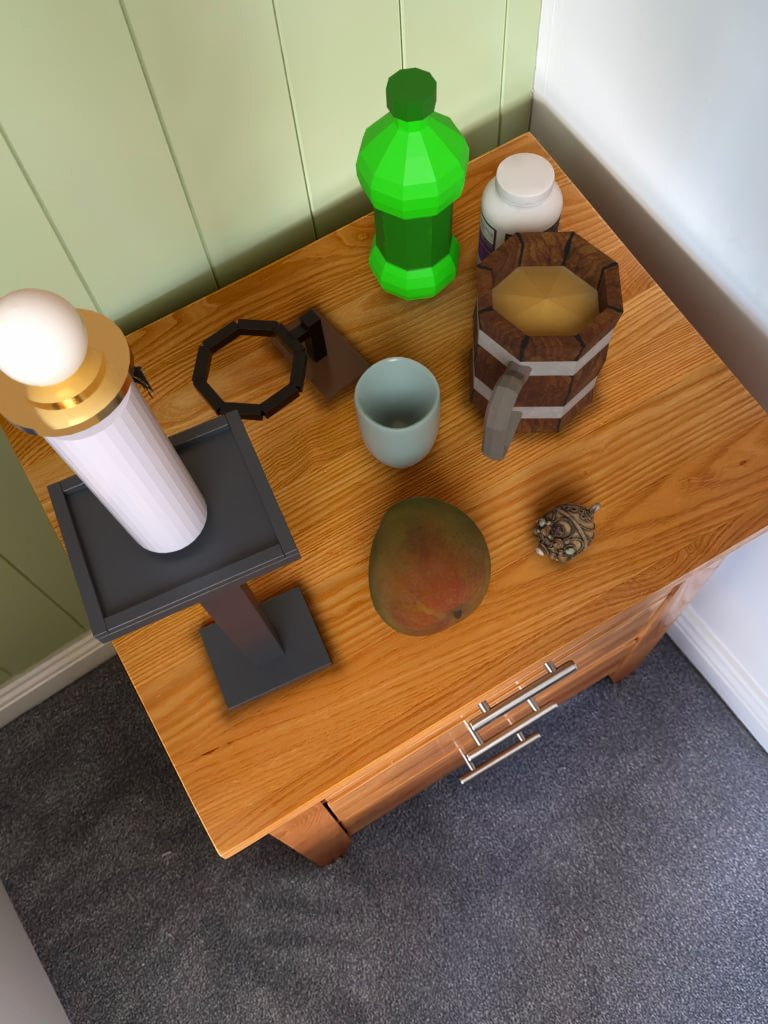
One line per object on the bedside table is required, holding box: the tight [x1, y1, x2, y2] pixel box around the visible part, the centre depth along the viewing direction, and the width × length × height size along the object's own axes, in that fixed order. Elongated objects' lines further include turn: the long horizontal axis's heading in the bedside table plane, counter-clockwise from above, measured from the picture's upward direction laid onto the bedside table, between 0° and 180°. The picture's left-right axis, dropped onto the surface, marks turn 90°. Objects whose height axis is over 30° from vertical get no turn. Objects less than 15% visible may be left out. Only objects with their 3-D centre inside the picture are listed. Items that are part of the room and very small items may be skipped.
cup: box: [353, 356, 442, 469], centre depth 80 cm, size 8×8×10 cm
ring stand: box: [191, 307, 372, 422], centre depth 84 cm, size 16×11×7 cm, turn 129°
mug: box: [468, 230, 625, 462], centre depth 79 cm, size 20×14×15 cm
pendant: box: [531, 501, 601, 563], centre depth 77 cm, size 5×8×5 cm, turn 129°
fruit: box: [367, 495, 492, 637], centre depth 74 cm, size 12×13×10 cm
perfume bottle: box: [0, 287, 207, 553], centre depth 39 cm, size 6×6×20 cm
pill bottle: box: [476, 152, 564, 266], centre depth 85 cm, size 8×8×14 cm
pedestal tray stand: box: [46, 410, 333, 712], centre depth 62 cm, size 12×10×32 cm
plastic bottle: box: [355, 67, 470, 302], centre depth 81 cm, size 10×10×25 cm
